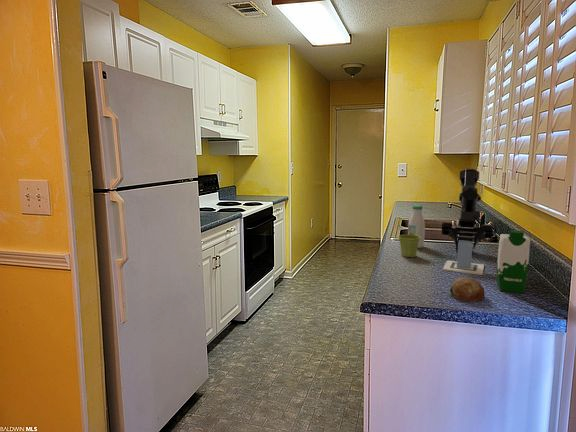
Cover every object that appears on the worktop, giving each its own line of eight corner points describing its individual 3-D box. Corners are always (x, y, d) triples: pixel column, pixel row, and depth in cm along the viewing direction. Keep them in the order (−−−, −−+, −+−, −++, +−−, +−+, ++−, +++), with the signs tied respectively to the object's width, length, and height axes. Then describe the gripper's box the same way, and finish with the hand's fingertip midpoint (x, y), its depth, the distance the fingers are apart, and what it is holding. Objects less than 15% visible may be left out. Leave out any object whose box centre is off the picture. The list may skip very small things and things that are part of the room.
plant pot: (412, 259, 176) (412, 239, 175) (393, 255, 183) (394, 236, 182) (423, 256, 182) (424, 236, 181) (405, 252, 189) (406, 233, 188)
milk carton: (497, 291, 136) (502, 232, 132) (493, 283, 144) (498, 227, 141) (528, 294, 133) (533, 233, 130) (522, 286, 141) (527, 228, 138)
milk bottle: (421, 244, 204) (423, 204, 201) (425, 248, 196) (427, 206, 193) (405, 244, 205) (407, 204, 201) (408, 248, 197) (410, 206, 194)
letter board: (484, 265, 166) (484, 264, 166) (482, 275, 154) (482, 273, 154) (447, 261, 172) (447, 260, 172) (442, 270, 160) (442, 268, 160)
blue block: (457, 264, 166) (459, 240, 165) (470, 265, 164) (472, 241, 163) (456, 267, 162) (458, 242, 160) (470, 268, 160) (472, 243, 158)
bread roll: (448, 302, 136) (440, 281, 135) (476, 288, 137) (468, 267, 135) (464, 313, 127) (455, 291, 125) (494, 299, 127) (485, 276, 125)
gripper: (443, 202, 167) (439, 234, 159) (494, 204, 159) (493, 238, 151) (443, 218, 175) (439, 249, 167) (492, 221, 167) (491, 254, 159)
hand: (465, 247), depth 161 cm, fingers open, 6 cm apart
